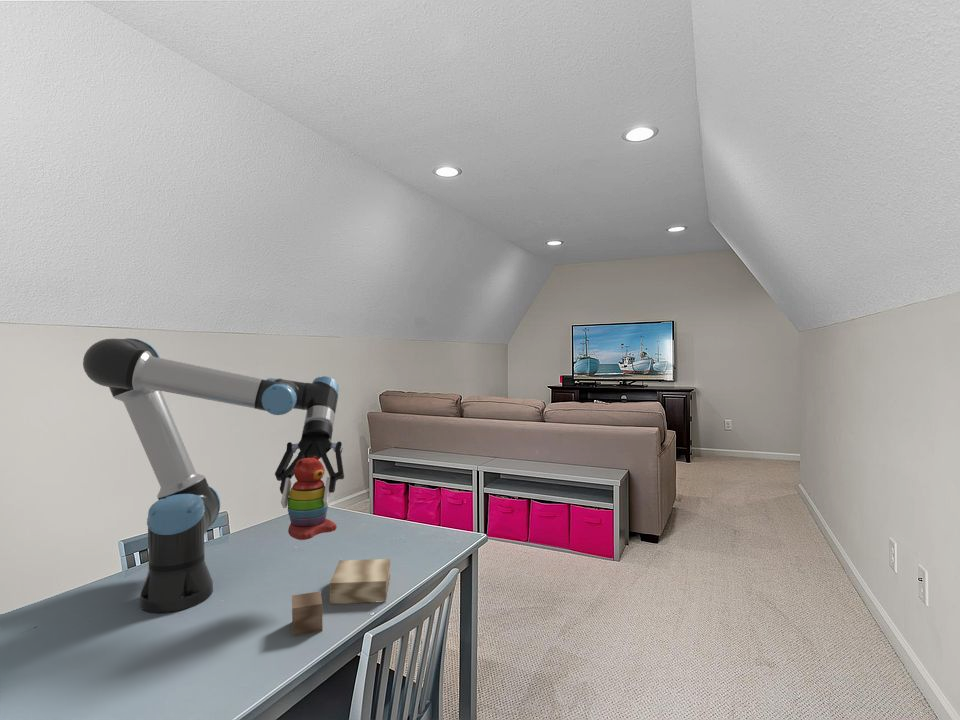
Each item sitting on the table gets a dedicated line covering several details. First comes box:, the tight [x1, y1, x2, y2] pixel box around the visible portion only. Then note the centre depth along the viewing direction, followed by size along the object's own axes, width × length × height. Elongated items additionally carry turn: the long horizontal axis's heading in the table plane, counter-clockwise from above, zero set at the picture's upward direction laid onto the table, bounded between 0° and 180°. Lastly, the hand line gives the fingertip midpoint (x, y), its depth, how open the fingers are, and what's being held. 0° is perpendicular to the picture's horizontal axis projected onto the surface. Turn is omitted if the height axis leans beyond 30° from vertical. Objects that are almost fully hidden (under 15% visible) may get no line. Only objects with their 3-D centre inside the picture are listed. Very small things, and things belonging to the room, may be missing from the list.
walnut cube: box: [291, 591, 323, 637], centre depth 113 cm, size 6×6×6 cm
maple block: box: [329, 558, 391, 605], centre depth 130 cm, size 13×13×5 cm
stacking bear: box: [287, 456, 337, 541], centre depth 128 cm, size 11×10×18 cm
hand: (304, 504), depth 124 cm, fingers closed on stacking bear, 9 cm apart
